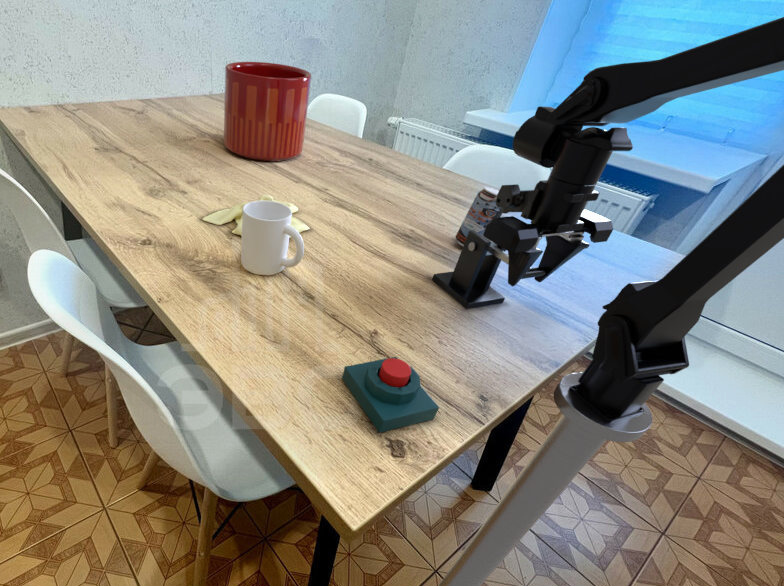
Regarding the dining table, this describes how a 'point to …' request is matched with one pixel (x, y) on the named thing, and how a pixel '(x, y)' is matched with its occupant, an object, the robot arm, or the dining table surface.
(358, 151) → the dining table surface
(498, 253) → the lever
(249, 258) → the mug
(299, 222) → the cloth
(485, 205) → the beverage can
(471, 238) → the bracket
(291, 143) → the planter
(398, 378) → the button
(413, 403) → the button block
